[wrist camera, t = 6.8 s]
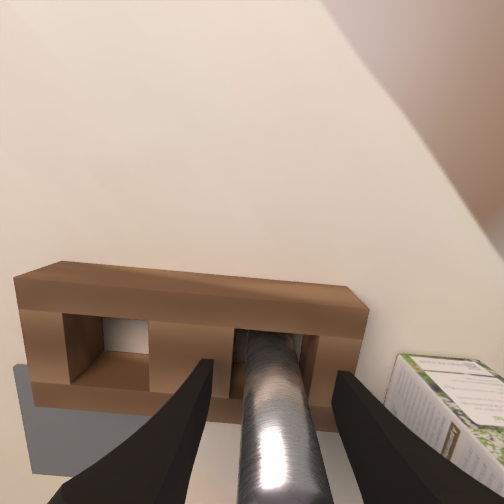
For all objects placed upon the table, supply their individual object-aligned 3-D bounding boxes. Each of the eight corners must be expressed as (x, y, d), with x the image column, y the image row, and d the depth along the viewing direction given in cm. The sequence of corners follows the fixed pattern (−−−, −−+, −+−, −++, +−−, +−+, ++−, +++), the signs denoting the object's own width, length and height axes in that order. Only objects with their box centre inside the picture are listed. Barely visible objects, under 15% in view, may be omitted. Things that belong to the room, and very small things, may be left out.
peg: (282, 362, 16) (315, 561, 7) (241, 351, 16) (224, 540, 7) (297, 325, 15) (352, 496, 7) (254, 313, 15) (253, 471, 7)
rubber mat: (159, 479, 19) (157, 483, 19) (35, 469, 19) (32, 473, 19) (158, 376, 17) (156, 379, 16) (17, 364, 16) (12, 367, 16)
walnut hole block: (326, 390, 17) (341, 432, 14) (73, 369, 16) (34, 406, 14) (347, 286, 15) (369, 309, 12) (61, 260, 15) (13, 277, 12)
